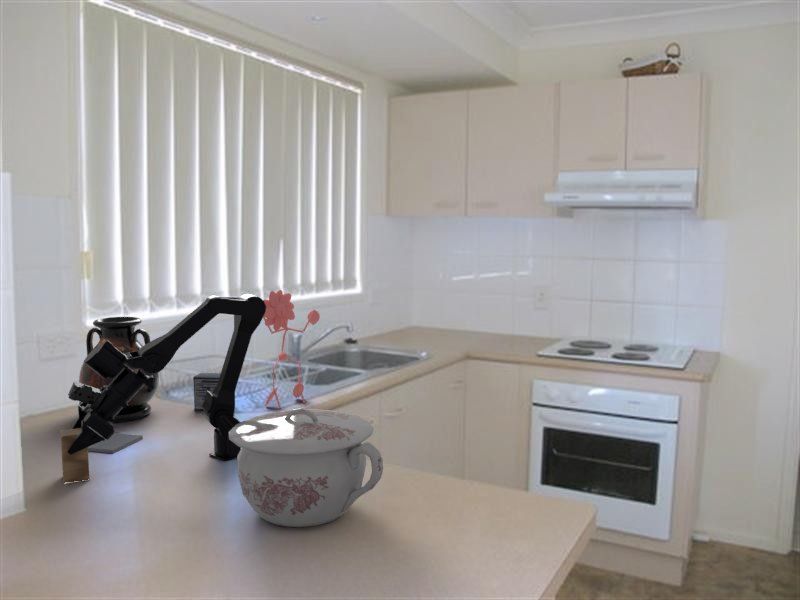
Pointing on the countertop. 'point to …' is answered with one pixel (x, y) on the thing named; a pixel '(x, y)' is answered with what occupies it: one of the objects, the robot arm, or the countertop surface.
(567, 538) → the countertop surface
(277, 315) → the figurine
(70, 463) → the walnut block
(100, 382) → the amphora vase
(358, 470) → the chamber pot
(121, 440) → the plate
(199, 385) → the small box
